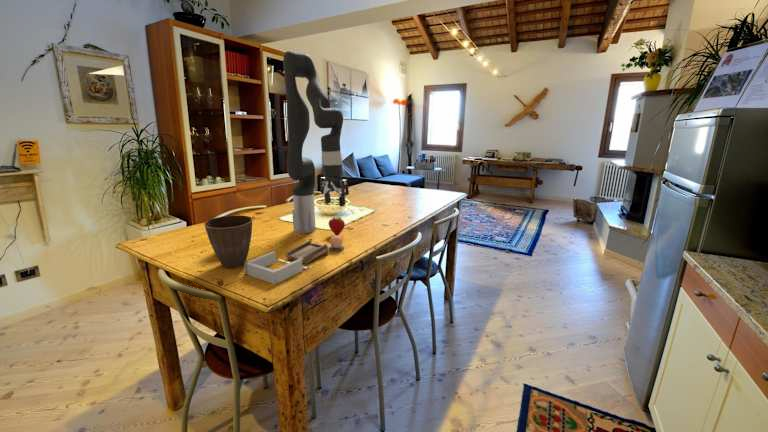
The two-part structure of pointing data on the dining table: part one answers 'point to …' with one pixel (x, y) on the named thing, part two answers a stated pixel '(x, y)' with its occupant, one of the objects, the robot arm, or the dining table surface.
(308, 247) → the walnut ramp
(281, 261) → the painted line
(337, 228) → the strawberry
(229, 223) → the plant pot
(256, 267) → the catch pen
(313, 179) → the robot arm
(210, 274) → the dining table surface
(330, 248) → the coaster
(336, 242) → the rubber ball
